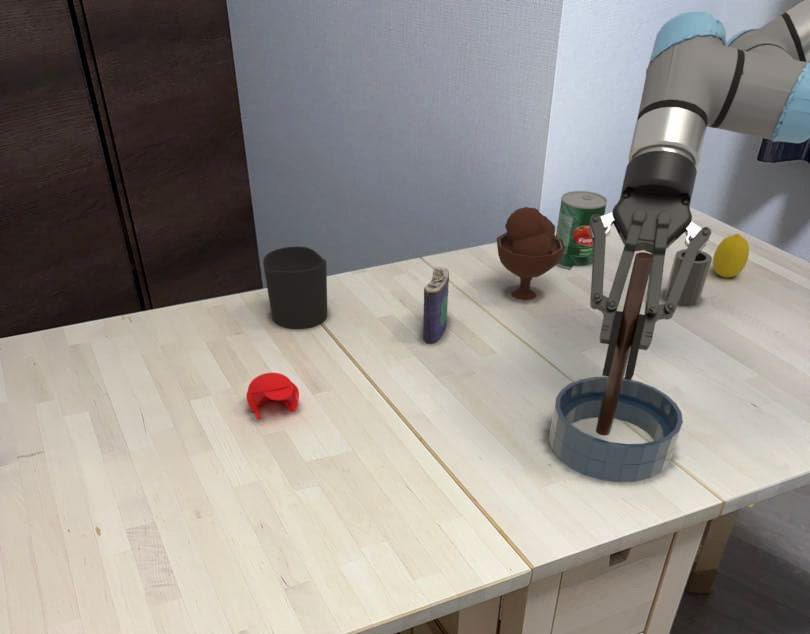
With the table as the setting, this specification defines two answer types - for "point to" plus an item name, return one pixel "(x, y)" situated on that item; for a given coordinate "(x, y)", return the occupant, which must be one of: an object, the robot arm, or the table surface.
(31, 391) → the table surface
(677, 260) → the utensil pot
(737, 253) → the lemon
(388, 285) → the table surface
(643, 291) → the stick
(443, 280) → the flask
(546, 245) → the ice cream bowl
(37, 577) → the table surface
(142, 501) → the table surface
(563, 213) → the canned tomato
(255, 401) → the cap
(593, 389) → the grey-blue hollow ring
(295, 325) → the pen holder
